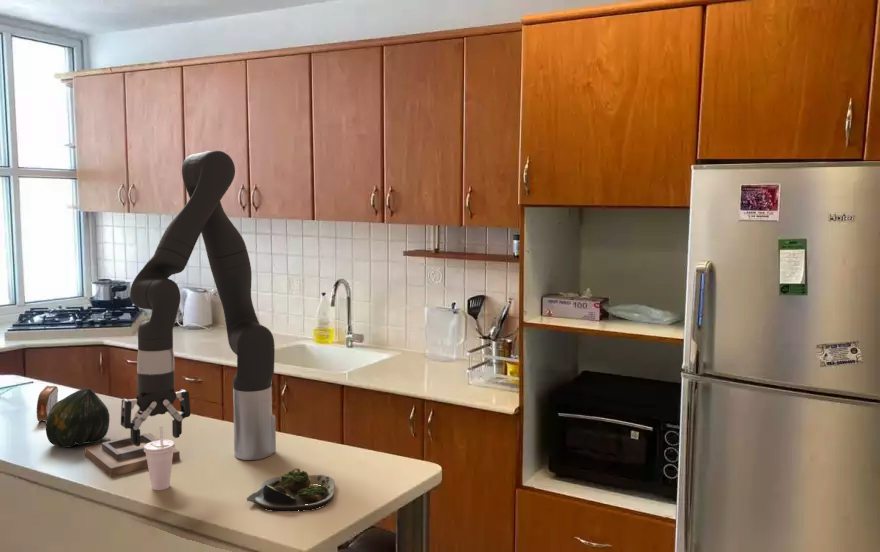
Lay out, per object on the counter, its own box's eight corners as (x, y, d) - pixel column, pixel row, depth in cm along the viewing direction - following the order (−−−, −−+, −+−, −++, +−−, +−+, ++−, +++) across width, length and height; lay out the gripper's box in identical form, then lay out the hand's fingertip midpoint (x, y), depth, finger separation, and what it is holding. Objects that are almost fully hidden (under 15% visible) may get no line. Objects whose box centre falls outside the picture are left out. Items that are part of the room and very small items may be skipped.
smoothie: (165, 494, 149) (163, 431, 147) (138, 491, 150) (136, 428, 149) (182, 482, 155) (180, 421, 154) (156, 479, 156) (154, 419, 155)
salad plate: (261, 476, 160) (261, 457, 159) (339, 475, 161) (339, 456, 160) (242, 514, 141) (242, 492, 140) (330, 513, 142) (330, 491, 141)
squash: (24, 426, 175) (53, 386, 171) (72, 411, 189) (101, 374, 185) (56, 468, 172) (87, 428, 168) (103, 450, 187) (133, 413, 183)
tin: (48, 409, 207) (47, 382, 206) (60, 409, 208) (59, 381, 207) (35, 425, 192) (34, 396, 192) (48, 424, 193) (47, 395, 192)
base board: (150, 440, 182) (149, 427, 181) (179, 459, 169) (179, 445, 168) (85, 455, 170) (84, 441, 170) (111, 476, 158) (110, 462, 157)
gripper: (181, 361, 158) (181, 430, 159) (115, 370, 148) (116, 443, 149) (195, 367, 152) (195, 438, 154) (128, 376, 142) (129, 453, 144)
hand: (156, 441), depth 152 cm, fingers open, 8 cm apart
